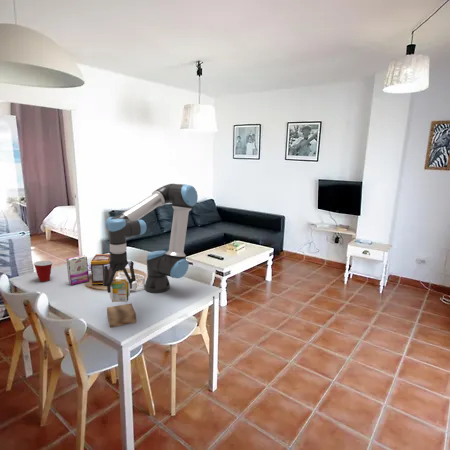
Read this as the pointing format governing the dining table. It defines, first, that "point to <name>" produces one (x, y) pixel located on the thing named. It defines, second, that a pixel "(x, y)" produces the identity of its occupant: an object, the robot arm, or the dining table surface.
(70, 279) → the candy bar box
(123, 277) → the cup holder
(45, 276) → the plastic cup
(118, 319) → the walnut block
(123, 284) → the crayon box
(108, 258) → the supplement box
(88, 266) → the water lily
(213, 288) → the dining table surface
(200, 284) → the dining table surface
